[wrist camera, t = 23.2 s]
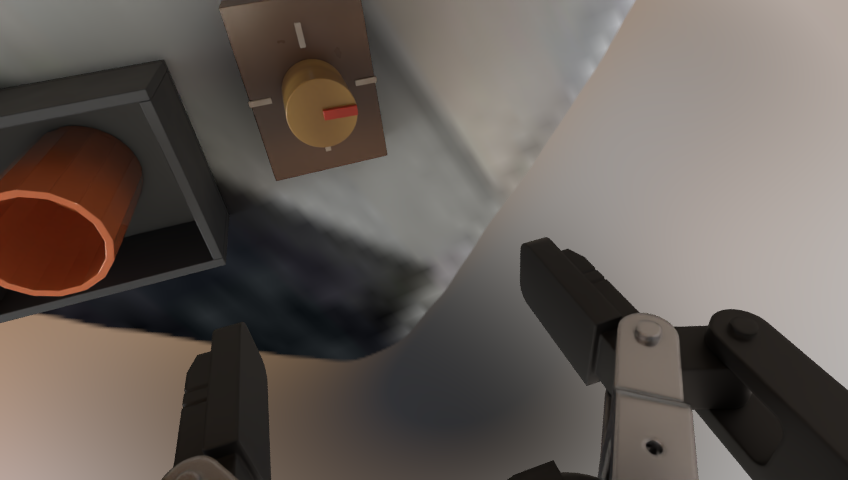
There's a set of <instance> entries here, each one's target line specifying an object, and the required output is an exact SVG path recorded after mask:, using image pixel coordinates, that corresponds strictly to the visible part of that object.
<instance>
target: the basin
mask: <svg viewBox="0 0 848 480" xmlns="http://www.w3.org/2000/svg"><path fill="white" fill-rule="evenodd" d="M65 126H84V127H89V128H94V129H97V130H100V131H103V132H105V133H108V134H110V135H112V136H114V137H115V138H117V139H118V140H120V141H121V142H123V143H124V144H125V145H126V146H127V147H128V148H129V149H130V150H131V151H132V152H133V153H134V155H135V156H136V157H137V159H138V161H139V162H140V165H141V167H142V171H143V177H144V182H143V188H142V193H141V195H140V198H139V200H138V203H137V205H136V208H135V210H134V213H133V215H132V218H131V220H130V223H129V225H128V228H127V230H126V233H125V235H124V238H123V240H122V243H121V245H120V248H119V250H118V253H117V255H116V258H115V260H114V262H113V264H112V266H111V268H110V270H109V271H108V273H107V275H106V277H105V278H103V279H102V280H100V281H99V282H98V283H96V284H95V285H93V286H92V287H90V288H89V289H87V290H84V291H80V292H76V293H73V294H69V295H65V296H33V295H28V294H25V293H21V292H17V291H14V290H10V289H6V288H4V287H1V286H0V323H2V322H6V321H10V320H14V319H18V318H21V317H25V316H29V315H33V314H37V313H41V312H45V311H49V310H53V309H56V308H60V307H64V306H68V305H72V304H76V303H80V302H83V301H87V300H91V299H95V298H99V297H103V296H107V295H110V294H114V293H118V292H122V291H126V290H130V289H133V288H137V287H141V286H145V285H149V284H153V283H157V282H160V281H164V280H168V279H172V278H176V277H180V276H184V275H187V274H191V273H195V272H199V271H203V270H207V269H211V268H214V267H218V266H222V265H225V264H226V254H227V240H228V226H229V214H228V211H227V209H226V207H225V204H224V202H223V200H222V197H221V195H220V192H219V190H218V188H217V185H216V183H215V180H214V178H213V176H212V173H211V171H210V169H209V166H208V164H207V161H206V159H205V157H204V154H203V152H202V149H201V147H200V145H199V142H198V140H197V138H196V135H195V133H194V130H193V128H192V126H191V123H190V121H189V118H188V116H187V114H186V111H185V109H184V107H183V104H182V102H181V99H180V97H179V95H178V92H177V90H176V87H175V85H174V83H173V80H172V78H171V75H170V73H169V71H168V68H167V66H166V64H165V61H164V60H159V61H153V62H148V63H142V64H137V65H131V66H126V67H120V68H115V69H109V70H104V71H98V72H93V73H87V74H81V75H76V76H70V77H65V78H59V79H54V80H48V81H43V82H37V83H32V84H26V85H21V86H15V87H9V88H4V89H0V174H1V173H2V172H3V171H4V170H5V169H6V168H7V167H8V166H9V165H10V164H11V163H12V162H13V161H14V160H15V159H16V158H17V157H18V156H19V155H20V154H21V153H22V152H23V151H24V150H25V149H26V148H27V147H28V146H29V145H30V144H31V143H32V142H34V141H35V140H36V139H37V138H39V137H40V136H41V135H42V134H44V133H46V132H47V131H50V130H52V129H55V128H59V127H65Z"/></svg>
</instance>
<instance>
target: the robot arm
mask: <svg viewBox="0 0 848 480" xmlns="http://www.w3.org/2000/svg"><path fill="white" fill-rule="evenodd" d="M520 255H521V256H520V286H521V291H522V294H523V297H524V299H525V301H526V302H527V304H528V305H529V307H530V308H531V310H532V311H533V312H534V314H535V315H536V317H537V318H538V319H539V321H540V322H541V323H542V325H543V326H544V327H545V329H546V330H547V332H548V333H549V334H550V336H551V337H552V339H553V340H554V341H555V343H556V344H557V345H558V347H559V348H560V350H561V351H562V352H563V354H564V355H565V357H566V358H567V359H568V361H569V362H570V363H571V365H572V366H573V368H574V369H575V370H576V372H577V373H578V374H579V376H580V377H581V379H582V380H583V381H584V383H585V384H586V386H588V385H591V384H593V383H597V382H600V381H601V382H602V384H603V385H604V386H605V388H606V393H605V402H604V415H603V429H602V443H601V456H600V464H599V472H598V478H597V477H593V476H590V475H585V474H580V473H569V472H563V473H560V471H559V469H558V468H557V466H556V464H555V462H554V461H550V462H547V463H545V464H542V465H539V466H537V467H534V468H531V469H529V470H526V471H523V472H521V473H518V474H515V475H513V476H512V477H511V478H509V479H508V480H699V479H698V468H697V457H696V446H695V435H694V425H693V413H692V410H695V411H696V412H697V413H698V414H699V415H700V417H701V418H702V419H703V420H704V421H705V423H706V424H707V425H708V427H709V428H710V429H711V430H712V431H713V433H714V434H715V435H716V436H717V437H718V439H719V440H720V441H721V442H722V443H723V445H724V446H725V447H726V448H727V449H728V451H729V452H730V453H731V454H732V455H733V457H734V458H735V459H736V460H737V461H738V463H739V464H740V465H741V466H742V468H743V469H744V470H745V471H746V473H747V474H748V475H749V476H750V477H751V479H752V480H848V390H847V389H846V388H845V387H843V386H842V385H841V384H840V383H839V382H837V381H836V380H835V379H834V378H833V377H832V376H830V375H829V374H828V373H827V372H825V371H824V370H823V369H822V368H821V367H820V366H818V365H817V364H816V363H815V362H814V361H812V360H811V359H810V358H809V357H808V356H807V355H805V354H804V353H803V352H802V351H801V350H800V349H798V348H797V347H796V346H795V345H794V344H792V343H791V342H790V341H789V340H788V339H787V338H785V337H784V336H783V335H782V334H781V333H779V332H778V331H777V330H776V329H775V328H774V327H772V326H771V325H770V324H769V323H768V322H766V321H765V320H763V319H762V318H760V317H759V316H756V315H754V314H752V313H749V312H745V311H742V310H735V309H728V310H722V311H719V312H717V313H715V314H714V315H713V316H712V317H711V320H710V322H709V325H708V326H688V327H673V326H672V325H671V324H670V323H669V322H668V321H666V320H664V319H663V318H661V317H658V316H656V315H652V314H648V313H639V312H638V311H637V310H636V309H635V308H634V307H633V306H632V305H631V304H630V303H629V302H628V301H627V300H626V299H625V298H624V297H623V296H622V294H621V293H619V291H617V290H616V289H615V287H614V286H613V285H612V284H611V283H610V282H609V281H607V280H605V279H604V276H602V274H601V273H599V272H598V271H597V270H595V267H594V266H593V265H592V264H591V263H590V262H589V261H588V260H587V259H586V258H585V257H583V256H581V255H579V254H577V253H575V252H573V251H571V250H569V249H566V250H562V251H561V250H560V249H559V248H558V247H557V246H556V245H555V244H554V243H553V242H552V241H551V240H550V239H549V238H547V237H545V238H541V239H538V240H534V241H531V242H527V243H524V244H522V246H521V253H520ZM267 388H268V386H267V375H266V370H265V366H264V363H263V361H262V358H261V356H260V354H259V351H258V349H257V347H256V345H255V343H254V341H253V339H252V337H251V334H250V332H249V330H248V328H247V326H246V324H245V323H244V322H241V323H237V324H233V325H230V326H226V327H223V328H219V329H216V330H214V331H213V335H212V346H211V351H210V352H207V353H203V354H200V355H197V357H196V358H195V360H194V362H193V363H192V365H191V367H190V369H189V370H188V372H187V376H186V383H185V390H184V391H185V394H184V397H183V404H182V405H183V409H182V411H181V418H180V425H179V432H178V440H177V447H176V454H175V461H174V466H173V468H172V469H171V470H170V471H169V472H168V473H167V474H166V475H165V476H164V477H163V478H162V480H271V467H270V441H269V413H268V389H267Z"/></svg>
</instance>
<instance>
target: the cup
mask: <svg viewBox="0 0 848 480" xmlns="http://www.w3.org/2000/svg"><path fill="white" fill-rule="evenodd" d="M143 182H144V177H143V171H142V167H141V165H140V162H139V161H138V159H137V157H136V156H135V155H134V153H133V152H132V151H131V150H130V149H129V148H128V147H127V146H126V145H125V144H124V143H123V142H121V141H120V140H118V139H117V138H115V137H114V136H112V135H110V134H108V133H105V132H103V131H100V130H97V129H94V128H89V127H84V126H65V127H59V128H55V129H52V130H50V131H47V132H46V133H44V134H42V135H41V136H40V137H39V138H37V139H36V140H35V141H34V142H32V143H31V144H30V145H29V146H28V147H27V148H26V149H25V150H24V151H23V152H22V153H21V154H20V155H19V156H18V157H17V158H16V159H15V160H14V161H13V162H12V163H11V164H10V165H9V166H8V167H7V168H6V169H5V170H4V171H3V172H2V173H1V174H0V286H1V287H4V288H6V289H10V290H14V291H17V292H21V293H25V294H28V295H33V296H65V295H69V294H73V293H76V292H80V291H84V290H87V289H89V288H90V287H92V286H93V285H95V284H96V283H98V282H99V281H100V280H102V279H103V278H105V277H106V275H107V273H108V271H109V270H110V268H111V266H112V264H113V262H114V260H115V258H116V255H117V253H118V250H119V248H120V245H121V243H122V240H123V238H124V235H125V233H126V230H127V228H128V225H129V223H130V220H131V218H132V215H133V213H134V210H135V208H136V205H137V203H138V200H139V198H140V195H141V193H142V188H143Z"/></svg>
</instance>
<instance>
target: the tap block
mask: <svg viewBox="0 0 848 480" xmlns="http://www.w3.org/2000/svg"><path fill="white" fill-rule="evenodd" d="M219 11H220V14H221V17H222V20H223V23H224V26H225V29H226V32H227V35H228V38H229V41H230V44H231V47H232V50H233V53H234V56H235V59H236V62H237V65H238V68H239V71H240V74H241V77H242V80H243V83H244V86H245V89H246V92H247V95H248V98H249V102H248V104H249V107H250V108H252V110H253V113H254V116H255V119H256V122H257V125H258V128H259V131H260V134H261V137H262V140H263V143H264V146H265V149H266V152H267V155H268V158H269V161H270V164H271V167H272V170H273V173H274V176H275V179H276V181H279V180H283V179H287V178H292V177H296V176H300V175H304V174H309V173H313V172H317V171H322V170H326V169H330V168H334V167H339V166H343V165H347V164H352V163H356V162H360V161H364V160H369V159H373V158H377V157H382V156H386V155H387V150H386V144H385V138H384V132H383V126H382V120H381V115H380V109H379V103H378V97H377V91H376V85H375V82H377V79H376V76H374V73H373V67H372V61H371V56H370V50H369V44H368V38H367V32H366V26H365V20H364V14H363V8H362V2H361V0H224V1H221V4H220V7H219ZM307 59H317V60H322V61H325V62H327V63H329V64H330V65H332V66H333V67H334V68H335V69H336V70H337V71H338V72H339V73H340V75H341V76H342V78H343V80H344V81H345V83H346V85H347V87H348V88H349V90H350V92H351V93H352V95H353V97H354V99H355V101H356V104H357V109H358V117H357V122H356V125H355V127H354V130H353V131H352V133H351V134H350V135H349V136H348V137H347V138H346V139H345V140H344V141H342V142H341V143H339V144H337V145H334V146H331V147H314V146H310V145H308V144H306V143H304V142H302V141H301V140H299V139H298V138H297V137H296V136H295V135H294V134H293V133H292V131H291V129H290V128H289V125H288V123H287V119H286V114H285V108H284V103H283V97H282V89H281V88H282V82H283V79H284V76H285V74H286V73H287V71H288V70H289V69H290V68H291V67H292V66H293V65H295V64H296V63H298V62H300V61H303V60H307Z"/></svg>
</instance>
